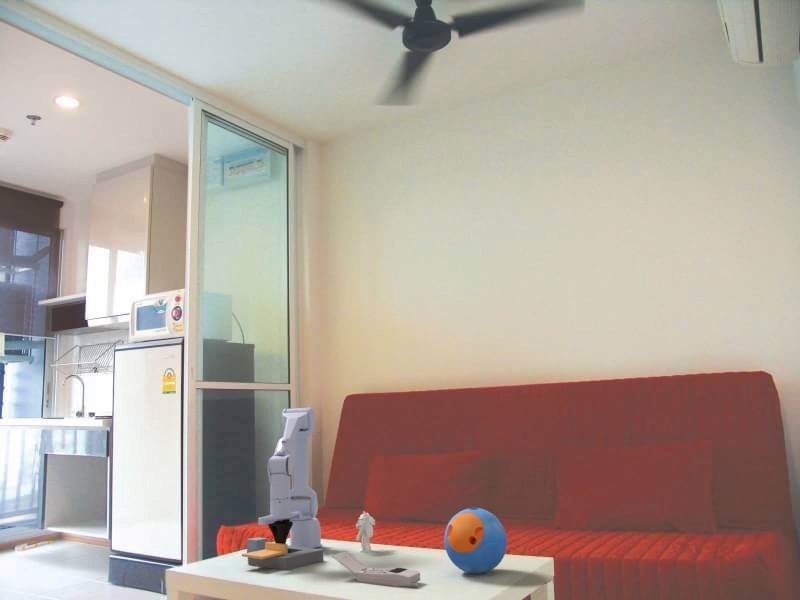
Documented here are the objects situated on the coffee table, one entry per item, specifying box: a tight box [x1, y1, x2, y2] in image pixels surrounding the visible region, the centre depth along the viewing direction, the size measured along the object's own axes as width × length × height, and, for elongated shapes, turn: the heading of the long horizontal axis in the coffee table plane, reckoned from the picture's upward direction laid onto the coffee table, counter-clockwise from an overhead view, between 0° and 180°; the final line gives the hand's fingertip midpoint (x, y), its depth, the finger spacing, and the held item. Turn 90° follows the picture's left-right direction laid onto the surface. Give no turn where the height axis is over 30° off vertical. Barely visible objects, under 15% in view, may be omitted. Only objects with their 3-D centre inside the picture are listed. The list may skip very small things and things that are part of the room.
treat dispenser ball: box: [443, 507, 508, 575], centre depth 160 cm, size 16×15×15 cm
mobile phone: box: [332, 550, 421, 588], centre depth 155 cm, size 6×6×25 cm
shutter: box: [241, 541, 289, 559], centre depth 176 cm, size 9×8×2 cm
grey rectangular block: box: [246, 537, 268, 553], centre depth 191 cm, size 4×4×5 cm
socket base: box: [247, 545, 324, 571], centre depth 181 cm, size 14×16×3 cm
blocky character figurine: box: [355, 510, 376, 553], centre depth 195 cm, size 9×4×12 cm, turn 152°
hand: (280, 548), depth 180 cm, fingers closed
